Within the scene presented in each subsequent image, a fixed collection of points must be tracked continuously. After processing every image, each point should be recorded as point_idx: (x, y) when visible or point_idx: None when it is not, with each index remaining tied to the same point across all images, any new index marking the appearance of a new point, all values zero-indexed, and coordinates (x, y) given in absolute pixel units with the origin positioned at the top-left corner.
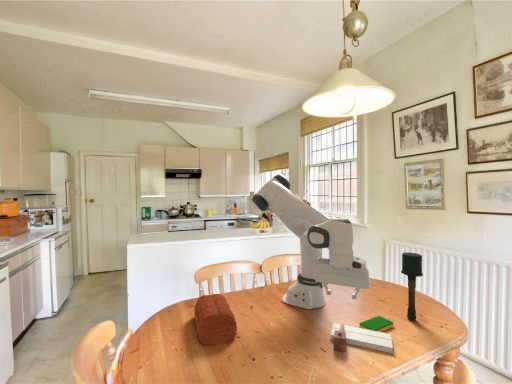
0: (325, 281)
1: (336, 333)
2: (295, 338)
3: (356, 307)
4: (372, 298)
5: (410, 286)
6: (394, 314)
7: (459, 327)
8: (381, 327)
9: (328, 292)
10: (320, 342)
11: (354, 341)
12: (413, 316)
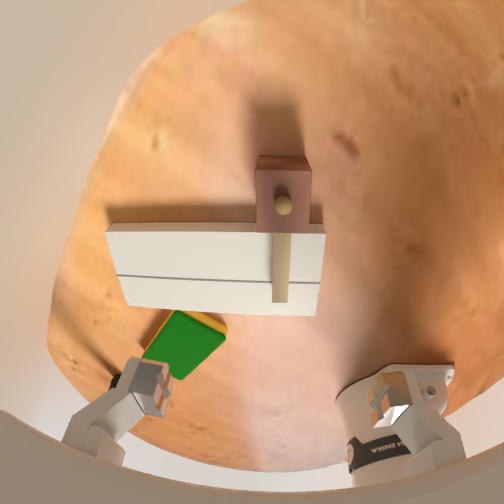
0: (463, 480)
1: (299, 206)
2: (446, 188)
3: (249, 404)
4: (217, 432)
5: None
6: None
7: (56, 361)
8: (159, 332)
9: (401, 389)
10: (359, 191)
11: (227, 228)
12: (113, 383)
